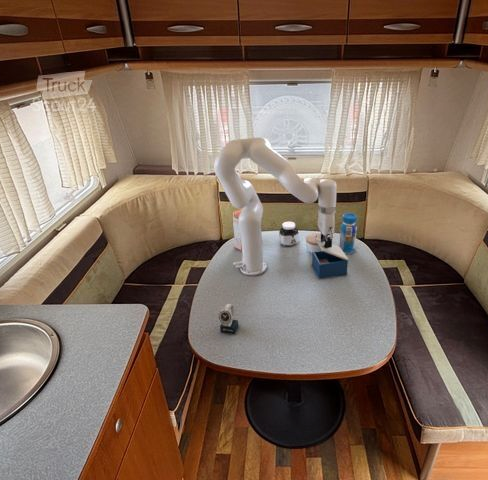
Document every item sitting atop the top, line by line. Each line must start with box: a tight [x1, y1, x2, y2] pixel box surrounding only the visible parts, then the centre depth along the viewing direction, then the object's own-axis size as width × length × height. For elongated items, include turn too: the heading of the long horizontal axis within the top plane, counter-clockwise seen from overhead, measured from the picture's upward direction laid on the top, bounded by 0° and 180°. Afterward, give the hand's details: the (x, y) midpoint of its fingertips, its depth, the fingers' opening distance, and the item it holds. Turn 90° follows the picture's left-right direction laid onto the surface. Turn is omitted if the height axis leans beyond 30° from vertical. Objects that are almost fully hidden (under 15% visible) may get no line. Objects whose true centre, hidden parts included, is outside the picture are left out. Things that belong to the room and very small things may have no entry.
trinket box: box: [305, 232, 322, 254], centre depth 183 cm, size 11×11×9 cm
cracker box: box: [232, 209, 242, 252], centre depth 187 cm, size 14×6×21 cm, turn 136°
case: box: [311, 251, 349, 280], centre depth 169 cm, size 14×12×8 cm
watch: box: [218, 303, 239, 335], centre depth 133 cm, size 6×8×11 cm
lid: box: [315, 235, 349, 262], centre depth 164 cm, size 14×12×5 cm
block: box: [319, 259, 329, 264], centre depth 169 cm, size 4×4×4 cm
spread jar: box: [278, 221, 300, 248], centre depth 192 cm, size 12×11×12 cm
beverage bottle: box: [338, 212, 358, 255], centre depth 181 cm, size 8×8×20 cm
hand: (326, 244), depth 163 cm, fingers closed on lid, 5 cm apart
